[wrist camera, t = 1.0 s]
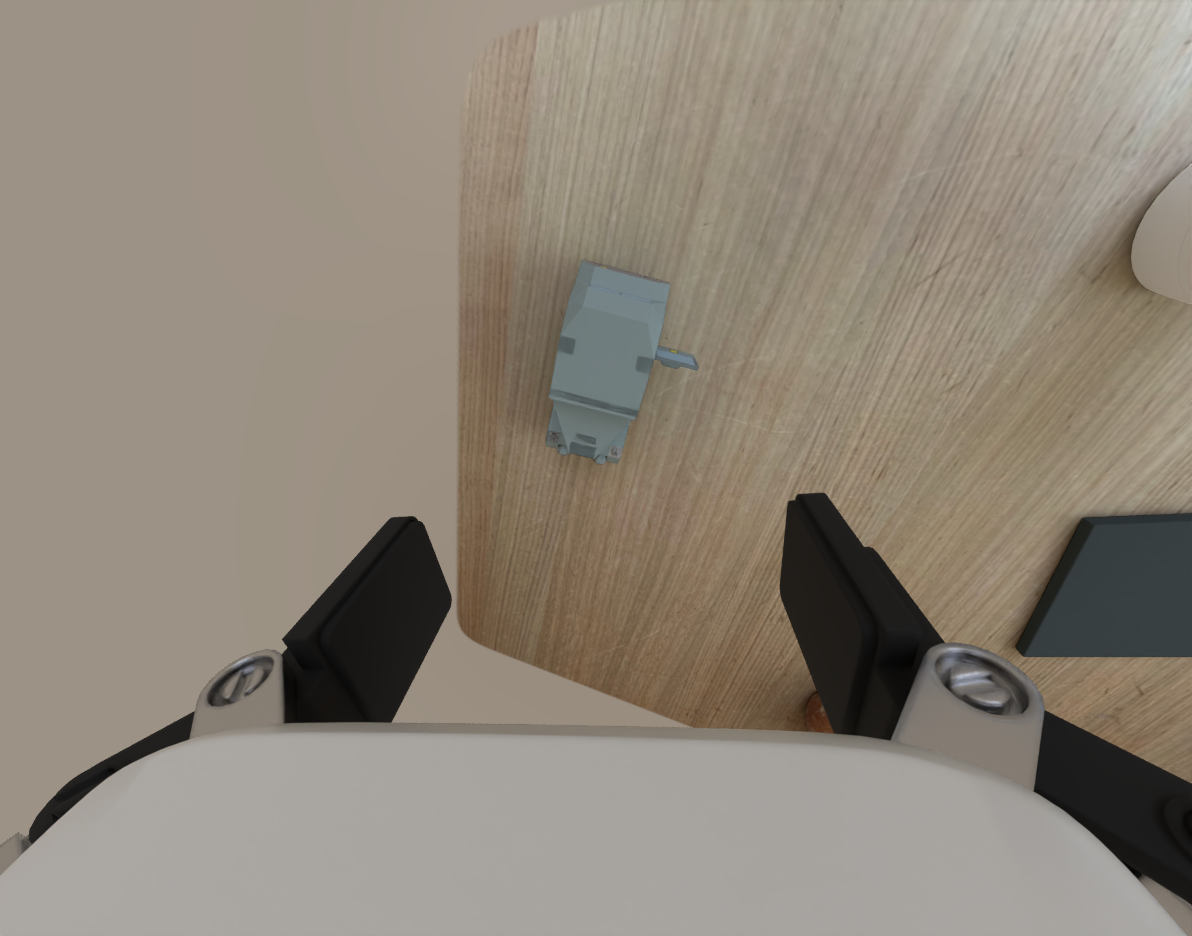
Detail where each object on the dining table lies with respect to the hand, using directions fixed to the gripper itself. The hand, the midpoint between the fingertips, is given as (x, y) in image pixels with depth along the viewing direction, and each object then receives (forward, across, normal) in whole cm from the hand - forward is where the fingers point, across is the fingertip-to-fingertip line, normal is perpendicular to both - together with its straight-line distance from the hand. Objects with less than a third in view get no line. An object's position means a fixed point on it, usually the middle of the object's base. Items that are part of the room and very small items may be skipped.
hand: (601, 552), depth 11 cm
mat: (+16, -36, +18) cm, 43 cm away
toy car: (+16, 0, -1) cm, 16 cm away
